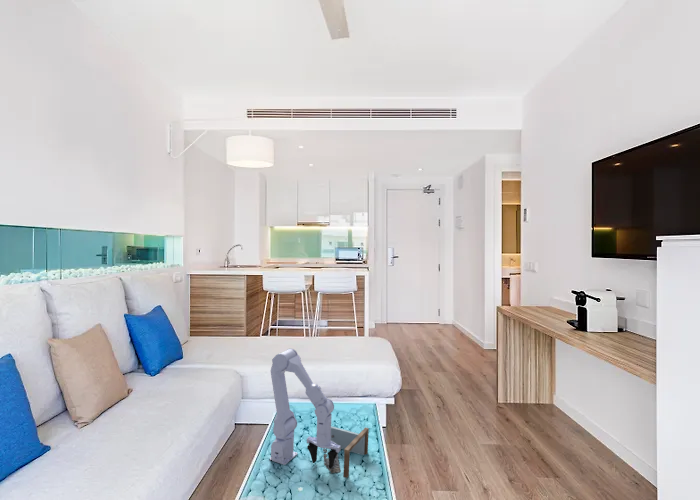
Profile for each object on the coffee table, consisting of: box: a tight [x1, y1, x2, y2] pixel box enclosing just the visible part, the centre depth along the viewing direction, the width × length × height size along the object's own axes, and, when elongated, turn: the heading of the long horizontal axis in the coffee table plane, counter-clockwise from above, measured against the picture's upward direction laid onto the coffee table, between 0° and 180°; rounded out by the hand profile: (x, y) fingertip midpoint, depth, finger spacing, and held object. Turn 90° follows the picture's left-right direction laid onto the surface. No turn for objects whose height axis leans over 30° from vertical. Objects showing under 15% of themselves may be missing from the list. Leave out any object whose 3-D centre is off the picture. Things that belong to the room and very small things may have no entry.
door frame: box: [342, 427, 370, 479], centre depth 164 cm, size 20×2×11 cm, turn 154°
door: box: [331, 426, 365, 456], centre depth 174 cm, size 16×2×8 cm, turn 64°
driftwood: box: [322, 448, 342, 474], centre depth 167 cm, size 21×7×2 cm, turn 6°
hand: (322, 464), depth 161 cm, fingers open, 7 cm apart
